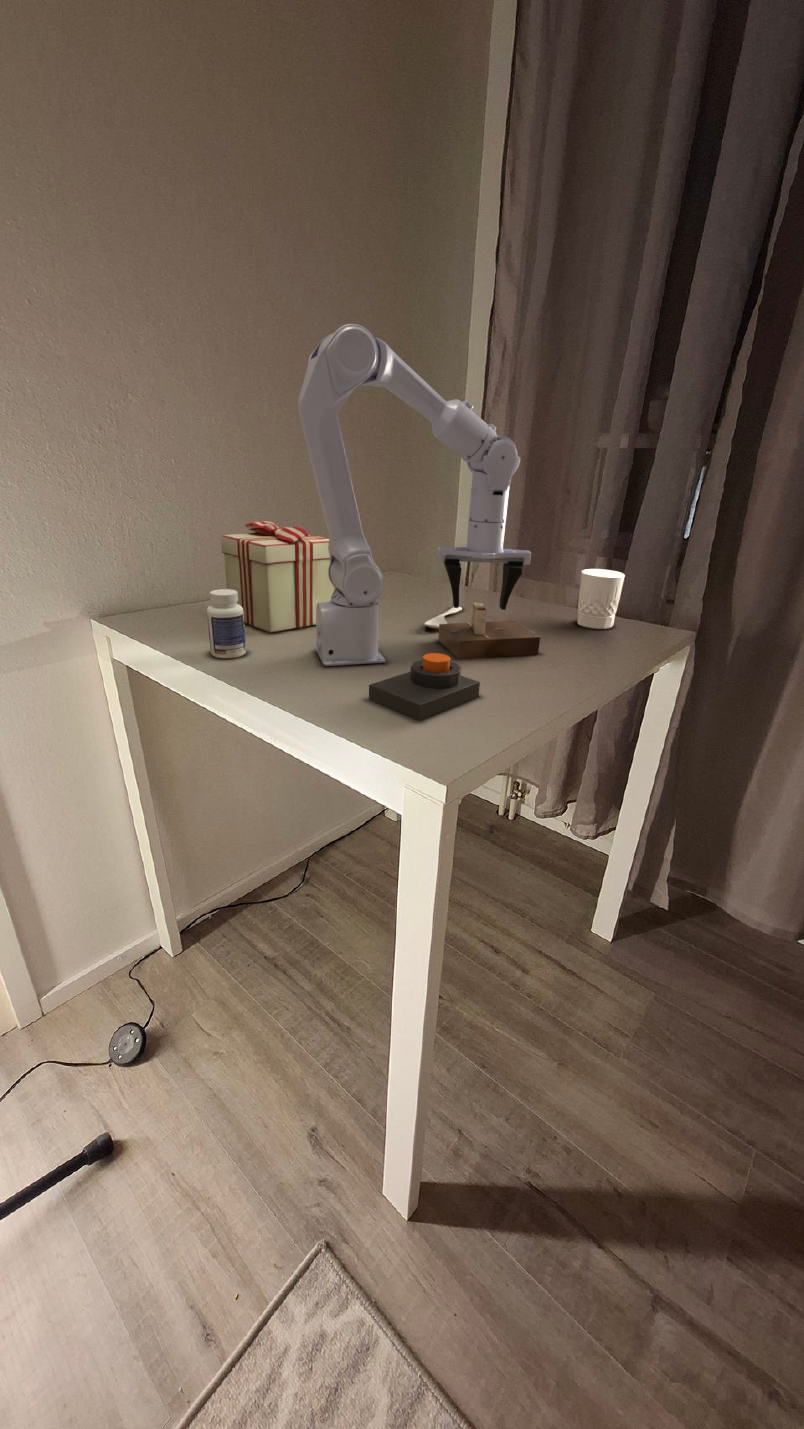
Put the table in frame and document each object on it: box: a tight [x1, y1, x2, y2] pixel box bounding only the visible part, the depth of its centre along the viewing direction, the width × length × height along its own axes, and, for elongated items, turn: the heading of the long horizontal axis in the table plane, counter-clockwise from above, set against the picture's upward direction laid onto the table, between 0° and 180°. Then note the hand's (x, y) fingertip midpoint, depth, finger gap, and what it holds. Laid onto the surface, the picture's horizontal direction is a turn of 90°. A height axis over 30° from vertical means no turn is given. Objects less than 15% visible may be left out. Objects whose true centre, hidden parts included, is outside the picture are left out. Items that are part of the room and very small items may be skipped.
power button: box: [422, 652, 451, 673], centre depth 81 cm, size 4×4×2 cm
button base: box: [368, 659, 481, 722], centre depth 81 cm, size 12×9×4 cm
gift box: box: [220, 520, 335, 633], centre depth 113 cm, size 17×18×17 cm
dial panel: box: [437, 620, 541, 660], centre depth 103 cm, size 14×10×3 cm
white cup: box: [576, 568, 626, 630], centre depth 118 cm, size 8×8×10 cm
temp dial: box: [470, 602, 488, 635], centre depth 101 cm, size 5×2×4 cm, turn 1°
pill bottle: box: [206, 588, 247, 659], centre depth 94 cm, size 5×5×10 cm
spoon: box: [423, 606, 463, 630], centre depth 119 cm, size 4×21×2 cm, turn 161°
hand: (479, 607), depth 100 cm, fingers open, 7 cm apart
